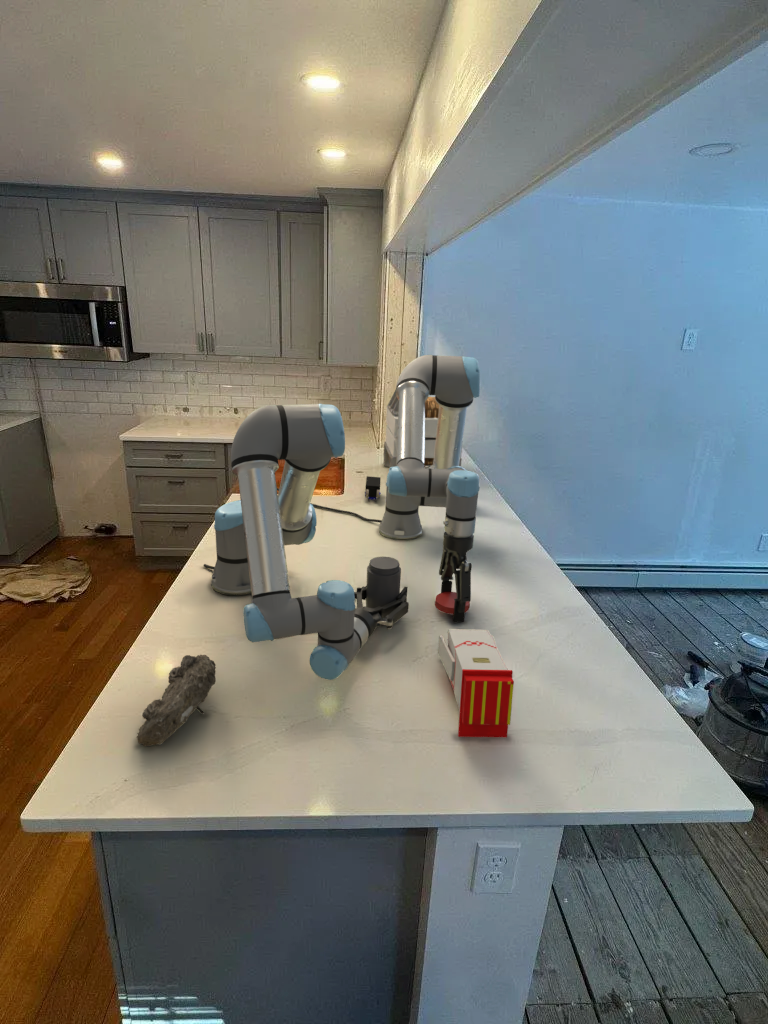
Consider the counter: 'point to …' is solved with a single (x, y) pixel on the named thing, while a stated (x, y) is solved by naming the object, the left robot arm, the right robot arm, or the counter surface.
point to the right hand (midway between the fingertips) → (451, 612)
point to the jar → (382, 581)
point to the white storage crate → (392, 431)
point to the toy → (478, 682)
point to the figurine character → (372, 488)
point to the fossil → (178, 699)
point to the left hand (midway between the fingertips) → (389, 587)
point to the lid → (448, 602)
